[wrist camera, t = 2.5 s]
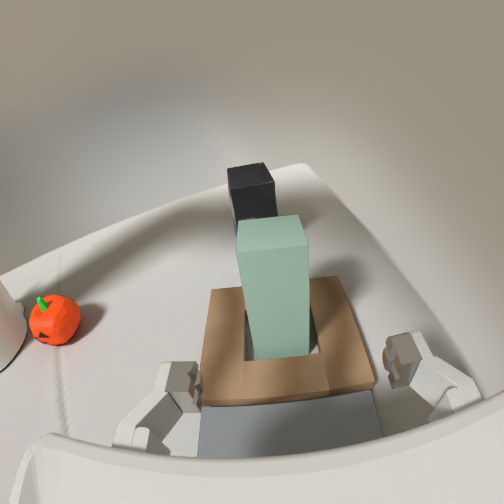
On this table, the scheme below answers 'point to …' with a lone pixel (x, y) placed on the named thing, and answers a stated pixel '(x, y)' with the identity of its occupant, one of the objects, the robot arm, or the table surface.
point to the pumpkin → (54, 319)
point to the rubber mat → (288, 427)
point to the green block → (275, 284)
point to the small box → (251, 193)
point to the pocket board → (283, 369)
